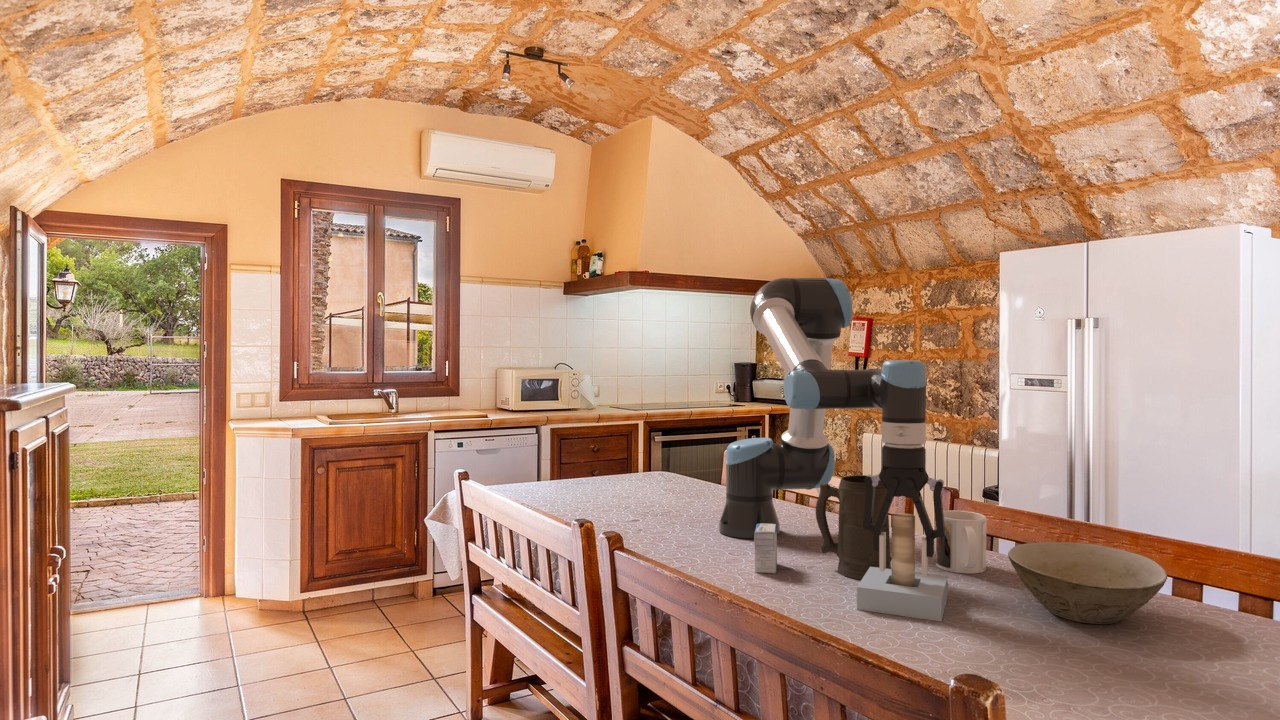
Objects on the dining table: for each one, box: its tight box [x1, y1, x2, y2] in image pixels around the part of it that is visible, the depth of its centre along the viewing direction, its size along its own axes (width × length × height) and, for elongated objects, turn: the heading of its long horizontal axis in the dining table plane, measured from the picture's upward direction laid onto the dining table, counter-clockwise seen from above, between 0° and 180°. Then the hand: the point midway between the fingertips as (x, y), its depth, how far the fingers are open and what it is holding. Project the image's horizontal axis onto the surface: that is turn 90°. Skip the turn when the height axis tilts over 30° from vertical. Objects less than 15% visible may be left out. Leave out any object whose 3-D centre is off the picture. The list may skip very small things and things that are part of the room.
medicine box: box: [753, 524, 778, 574], centre depth 162 cm, size 8×4×9 cm, turn 169°
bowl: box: [1007, 541, 1168, 625], centre depth 133 cm, size 24×24×10 cm
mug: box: [935, 509, 987, 575], centre depth 161 cm, size 10×12×11 cm
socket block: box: [856, 567, 949, 622], centre depth 139 cm, size 14×14×4 cm
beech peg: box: [891, 512, 916, 587], centre depth 139 cm, size 4×4×16 cm
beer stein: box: [815, 474, 892, 581], centre depth 159 cm, size 15×11×20 cm
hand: (903, 571), depth 139 cm, fingers open, 7 cm apart
